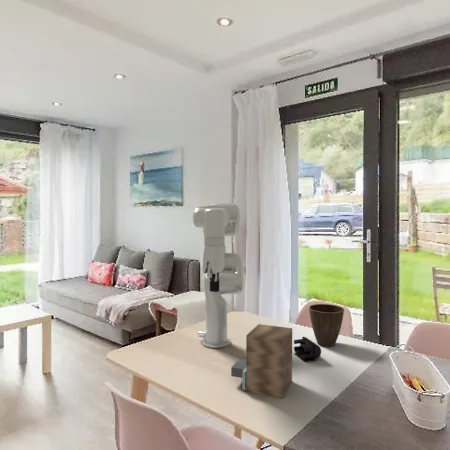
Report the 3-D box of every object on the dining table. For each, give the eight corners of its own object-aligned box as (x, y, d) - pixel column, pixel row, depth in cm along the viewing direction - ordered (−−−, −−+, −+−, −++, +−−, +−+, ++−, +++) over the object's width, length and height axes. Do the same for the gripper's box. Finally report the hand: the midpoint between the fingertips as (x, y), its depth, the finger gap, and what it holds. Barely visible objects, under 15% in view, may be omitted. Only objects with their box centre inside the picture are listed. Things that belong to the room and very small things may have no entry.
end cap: (321, 361, 148) (321, 344, 148) (305, 363, 146) (305, 345, 146) (308, 351, 157) (308, 335, 157) (293, 353, 155) (293, 337, 155)
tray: (228, 386, 125) (228, 369, 125) (242, 370, 138) (242, 354, 137) (279, 397, 118) (279, 378, 118) (289, 378, 131) (289, 362, 131)
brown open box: (246, 391, 123) (246, 335, 122) (258, 375, 135) (258, 324, 134) (282, 398, 118) (283, 340, 118) (292, 381, 130) (292, 328, 130)
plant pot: (304, 338, 173) (304, 304, 172) (335, 337, 174) (336, 303, 174) (315, 350, 158) (315, 313, 158) (349, 349, 160) (349, 312, 159)
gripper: (213, 240, 147) (213, 286, 148) (196, 243, 134) (196, 294, 134) (231, 240, 144) (231, 288, 145) (215, 244, 131) (215, 296, 132)
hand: (214, 291), depth 140 cm, fingers closed
